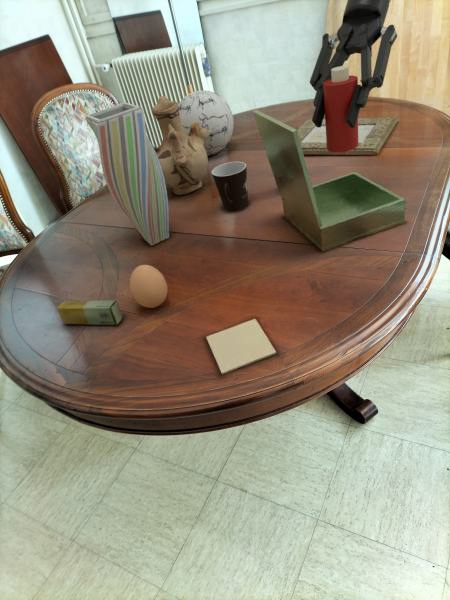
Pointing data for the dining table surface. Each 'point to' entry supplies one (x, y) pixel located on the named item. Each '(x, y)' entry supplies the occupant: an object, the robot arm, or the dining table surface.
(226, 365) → the mat
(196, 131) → the ceramic vessel
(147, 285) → the egg
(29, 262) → the dining table surface
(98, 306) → the medication box
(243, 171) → the coffee mug
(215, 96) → the decorative sphere
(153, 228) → the vase
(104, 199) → the dining table surface
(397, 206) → the green square tray
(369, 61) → the robot arm
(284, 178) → the lid
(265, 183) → the dining table surface
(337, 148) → the ketchup
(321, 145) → the picture frame
